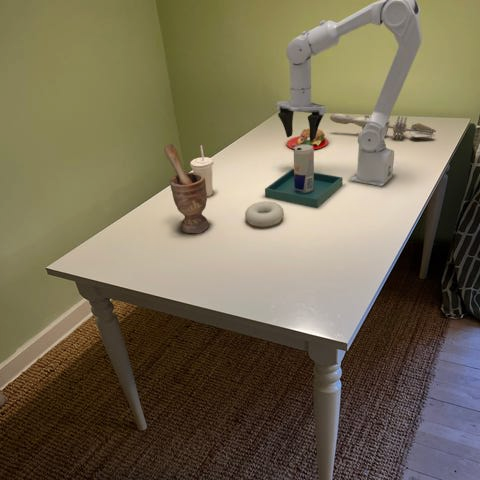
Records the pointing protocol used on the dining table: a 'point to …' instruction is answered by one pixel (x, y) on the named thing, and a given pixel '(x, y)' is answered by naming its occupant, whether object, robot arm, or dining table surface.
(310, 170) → the energy drink
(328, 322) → the dining table surface
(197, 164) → the smoothie
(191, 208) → the mortar and pestle
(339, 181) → the tray
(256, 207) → the donut
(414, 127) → the cutlery set
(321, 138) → the hamburger
